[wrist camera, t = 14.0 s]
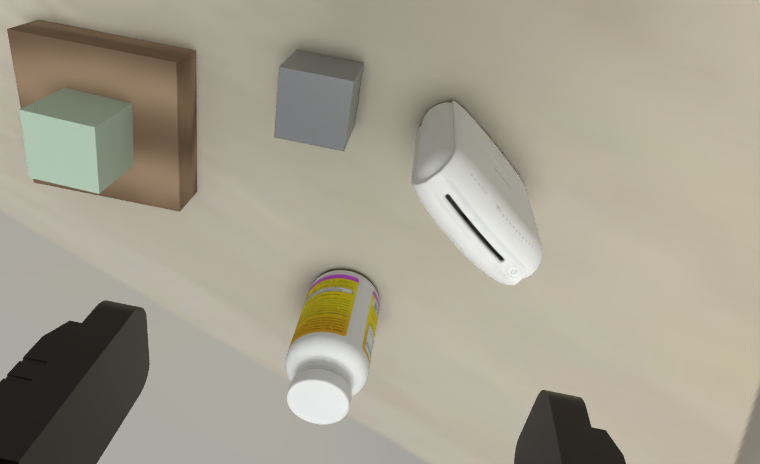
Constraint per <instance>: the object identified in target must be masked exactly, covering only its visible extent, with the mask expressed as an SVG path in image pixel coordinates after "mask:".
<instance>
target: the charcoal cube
mask: <svg viewBox="0 0 760 464" xmlns="http://www.w3.org/2000/svg"><path fill="white" fill-rule="evenodd" d="M363 65H364V63H362V62H357V61H352V60H347V59H341V58H336V57H331V56H326V55H321V54H316V53H311V52H306V51H301V50H296V51H295V52H294V53H293V54H292V55H291V56H290V57H289V58H288V59H287V60H286V61H285V62H284V63H283V64H282V65H281V66H280V67H279V78H278V92H277V106H276V120H275V133H274V137H275V138H280V139H285V140H290V141H295V142H300V143H305V144H310V145H315V146H320V147H325V148H330V149H335V150H340V151H344V150H345V148H346V145H347V143H348V140H349V138H350V136H351V133H352V131H353V129H354V125H355V118H356V111H357V105H358V98H359V92H360V85H361V78H362V72H363Z"/></svg>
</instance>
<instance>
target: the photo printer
mask: <svg viewBox="0 0 760 464" xmlns="http://www.w3.org/2000/svg"><path fill="white" fill-rule="evenodd" d="M412 185H413V187H414V189H415V191H416V193H417V195H418V198H419V200H420V201H421V203H422V204H423V206H424V207H425V208H426V210H427V211H428V213H429V214H430V215H431V216H432V218H433V219H434V220H435V222H436V223H437V224H438V225H439V227H440V228H441V229H442V230H443V231H444V233H445V234H446V235H447V236H448V237H449V238H450V240H451V241H452V242H453V243H454V244H455V245H456V246H457V247H458V249H459V250H460V251H461V252H462V253H463V254H464V255H465V256H466V257H467V258H468V259H469V260H470V261H471V262H472V263H473V264H475V265H476V266H477V267H478V268H479V269H480V270H482V271H483V272H484V273H486V274H487V275H488V276H490V277H491V278H493V279H495V280H496V281H498V282H500V283H502V284H505V285H515V284H517V283H518V282H519V281H520V280H521V279H523V278H525V277H528V276H530V275H531V274H532V273H533V272H534V271H535V270H536V268H537V267H538V265H539V263H540V261H541V259H542V255H543V249H542V245H541V241H540V237H539V234H538V230H537V226H536V223H535V219H534V216H533V212H532V209H531V205H530V201H529V198H528V195H527V191H526V189H525V187H524V184H523V182H522V180H521V179H520V177H519V176H518V174H517V173H516V171H515V170H514V169H513V167H512V166H511V165H510V163H509V162H508V161H507V159H506V158H505V157H504V155H503V154H502V153H501V152H500V150H499V149H498V148H497V147H496V145H495V144H494V143H493V142H492V140H491V139H490V138H489V137H488V135H487V134H486V133H485V132H484V131H483V130H482V128H481V127H480V126H479V125H478V124H477V123H476V121H475V120H474V119H473V118H472V117H471V116H470V115H469V113H468V112H467V111H466V110H465V109H464V108H463V107H461V106H460V105H459V104H458V103H457V102H455V101H452V102H451V103H449V102H447V103H441V104H438V105H436V106H434V107H432V108H431V109H430V110H429V111H428V112H427V113H426V114H425V116H424V118H423V121H422V125H421V126H420V127H419V128H418V130H417V135H416V145H415V154H414V163H413V171H412Z"/></svg>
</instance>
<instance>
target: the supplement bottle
mask: <svg viewBox="0 0 760 464" xmlns="http://www.w3.org/2000/svg"><path fill="white" fill-rule="evenodd" d="M378 313H379V296H378V293H377V291H376V289H375V287H374V286H373V285H372V283H371V282H370V281H368V280H367V279H366V278H365V277H363V276H361V275H359V274H357V273H355V272H351V271H346V270H336V271H331V272H327V273H325V274H323V275H321V276H320V277H318V278H317V279H316V280H315V281H314V283H313V284H312V286H311V288H310V290H309V292H308V295H307V298H306V301H305V304H304V307H303V310H302V313H301V316H300V318H299V321H298V324H297V327H296V330H295V333H294V336H293V339H292V341H291V344H290V347H289V350H288V353H287V356H286V372H287V375H288V377H289V379H290V381H291V383H290V387H289V390H288V393H287V402H288V405H289V407H290V408H291V410H292V411H293V412H294V413H295V414H296V415H297V416H299V417H300V418H301V419H303V420H306V421H308V422H311V423H315V424H331V423H335V422H337V421H339V420H341V419H342V418H343V417H344V416H345V415H346V414H347V412H348V410H349V406H350V402H351V399H352V396H354V395H355V394H357V393H358V392H359V391H360V390H361V389H362V387H363V386H364V384H365V383H366V380H367V377H368V372H369V367H370V361H371V354H372V348H373V343H374V337H375V330H376V324H377V318H378Z"/></svg>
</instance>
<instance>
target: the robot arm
mask: <svg viewBox="0 0 760 464" xmlns="http://www.w3.org/2000/svg"><path fill="white" fill-rule="evenodd" d="M148 371H149V349H148V334H147V319H146V312H145V310H144V309H143V308H141V307H136V306H131V305H126V304H121V303H115V302H111V301H103V302H101V303H99V304H98V305H97V306H96V307H95V309H94V310H93V311H92V312H91V313H90V315H88V317H87V318H86V319H85V320H84V321H83V323H78V322H73V321H68V322H67V323H65V324H63V325H61V326H60V327H58V328H56V329H55V330H53V331H51V332H50V333H48V334H46V335H44V336H43V337H42V338H41V339H40V340H39V341H38V342H37V343H36V344H35V345H34V346H33V347H32V348H31V350H30V351H29V352H28V353H27V354H26V355H25V356H24V358H23V361H22V362H21V361H19V363H17V365H16V366H15V367H14V368H13V369H12V370H11V371H10V372H9V373H8V374H7V378H6V379H3V380H2V381H1V382H0V464H97V462H98V460H99V459H100V457H101V456H102V454H103V452H104V451H105V449H106V448H107V446H108V444H109V443H110V441H111V440H112V438H113V436H114V435H115V433H116V432H117V430H118V428H119V427H120V425H121V424H122V422H123V420H124V419H125V417H126V416H127V414H128V413H129V411H130V409H131V408H132V406H133V405H134V403H135V401H136V400H137V398H138V397H139V395H140V393H141V391H142V389H143V387H144V385H145V382H146V379H147V376H148ZM514 464H626V462H625V459H624V456H623V454H622V453H621V451H620V450H619V448H618V447H617V446H616V444H615V443H614V441H613V440H612V439H611V437H610V436H609V434H608V433H607V432H606V430H602V429H597V428H592V427H591V424H590V420H589V417H588V413H587V409H586V406H585V403H584V401H583V399H582V398H580V397H576V396H571V395H566V394H561V393H556V392H551V391H546V390H542V391H541V392H540V393H539V395H538V396H537V399H536V401H535V403H534V405H533V407H532V410H531V412H530V414H529V416H528V419H527V421H526V423H525V425H524V427H523V430H522V432H521V434H520V436H519V439H518V442H517V446H516V451H515V460H514Z"/></svg>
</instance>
